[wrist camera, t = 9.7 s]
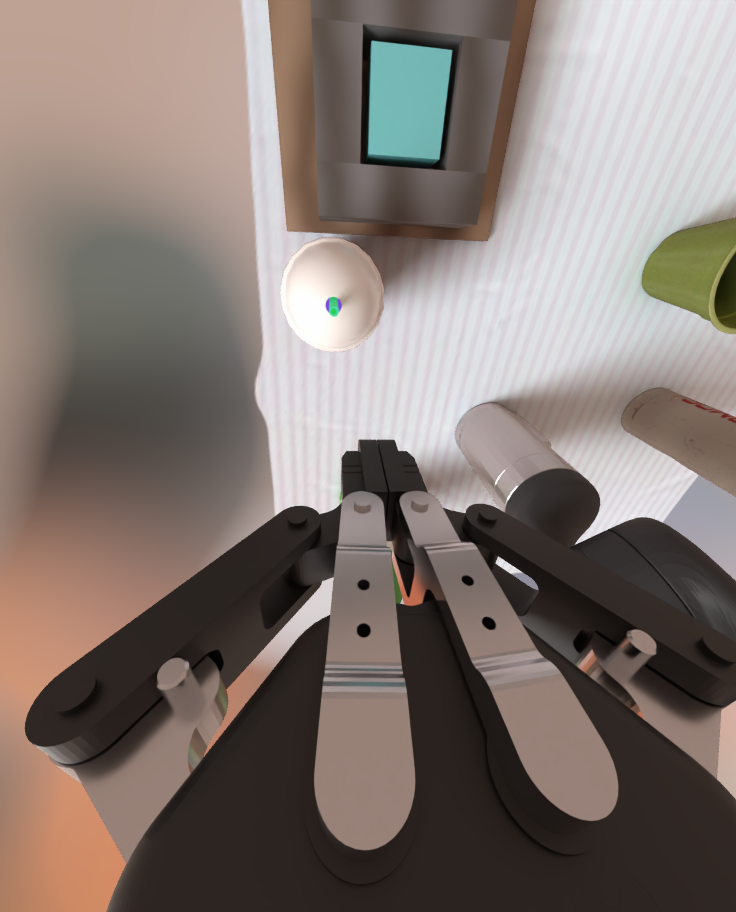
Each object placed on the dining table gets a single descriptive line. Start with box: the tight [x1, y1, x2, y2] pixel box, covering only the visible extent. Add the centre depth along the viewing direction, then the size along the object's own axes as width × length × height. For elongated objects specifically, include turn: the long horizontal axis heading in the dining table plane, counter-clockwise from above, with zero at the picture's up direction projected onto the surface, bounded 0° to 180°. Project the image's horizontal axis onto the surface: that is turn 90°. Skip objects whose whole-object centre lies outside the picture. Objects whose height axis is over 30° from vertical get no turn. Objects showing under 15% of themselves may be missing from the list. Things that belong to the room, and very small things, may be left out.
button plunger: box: [364, 41, 452, 169], centre depth 27 cm, size 6×6×4 cm
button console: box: [268, 0, 536, 241], centre depth 28 cm, size 22×17×6 cm
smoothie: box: [280, 237, 384, 352], centre depth 29 cm, size 8×8×20 cm
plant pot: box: [642, 218, 736, 334], centre depth 35 cm, size 12×12×11 cm
